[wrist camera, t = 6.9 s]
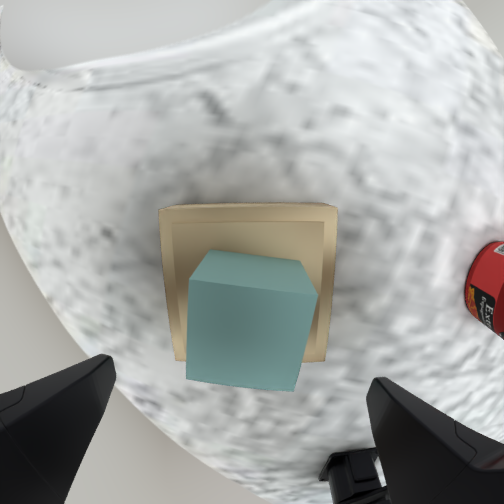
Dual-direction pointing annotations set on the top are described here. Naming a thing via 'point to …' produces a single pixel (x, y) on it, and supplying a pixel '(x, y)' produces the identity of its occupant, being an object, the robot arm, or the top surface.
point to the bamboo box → (249, 242)
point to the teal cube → (248, 320)
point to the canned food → (487, 288)
